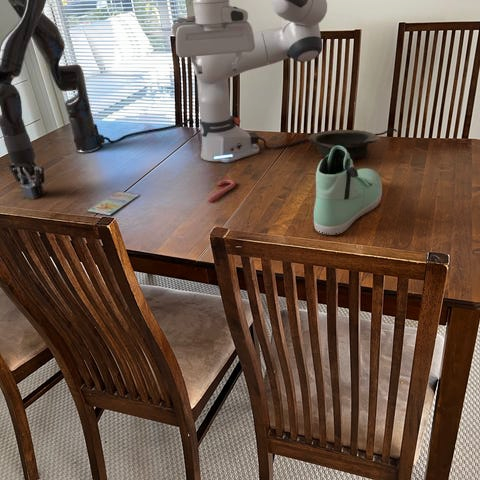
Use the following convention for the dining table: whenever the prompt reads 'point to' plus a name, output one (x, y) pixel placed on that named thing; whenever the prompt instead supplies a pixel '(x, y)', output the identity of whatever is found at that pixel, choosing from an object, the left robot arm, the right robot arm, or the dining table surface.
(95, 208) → the baking ingredient package
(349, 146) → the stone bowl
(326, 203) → the sneaker
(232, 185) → the candy cane
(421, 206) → the dining table surface
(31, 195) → the block
